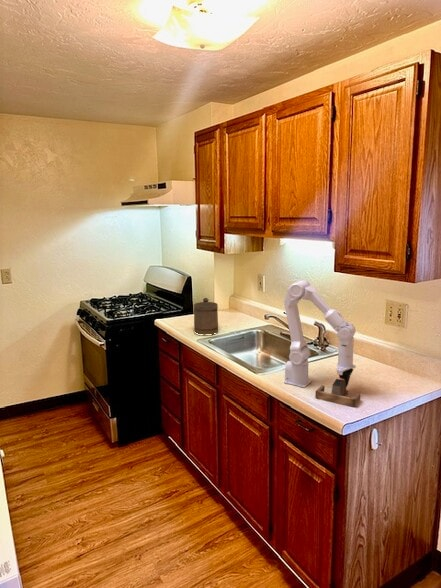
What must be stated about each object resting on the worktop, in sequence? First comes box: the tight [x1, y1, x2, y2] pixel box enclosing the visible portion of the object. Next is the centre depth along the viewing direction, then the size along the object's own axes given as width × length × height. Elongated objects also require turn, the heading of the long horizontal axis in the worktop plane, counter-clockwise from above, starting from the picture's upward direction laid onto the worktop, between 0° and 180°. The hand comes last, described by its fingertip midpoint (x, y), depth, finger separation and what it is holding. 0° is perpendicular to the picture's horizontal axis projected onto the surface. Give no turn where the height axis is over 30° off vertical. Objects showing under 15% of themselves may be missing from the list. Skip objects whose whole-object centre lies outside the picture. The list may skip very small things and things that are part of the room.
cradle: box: [314, 384, 361, 408], centre depth 159 cm, size 15×7×3 cm, turn 56°
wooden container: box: [193, 297, 219, 334], centre depth 252 cm, size 15×15×22 cm
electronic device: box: [331, 377, 349, 397], centre depth 160 cm, size 4×10×8 cm, turn 147°
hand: (344, 386), depth 166 cm, fingers closed
